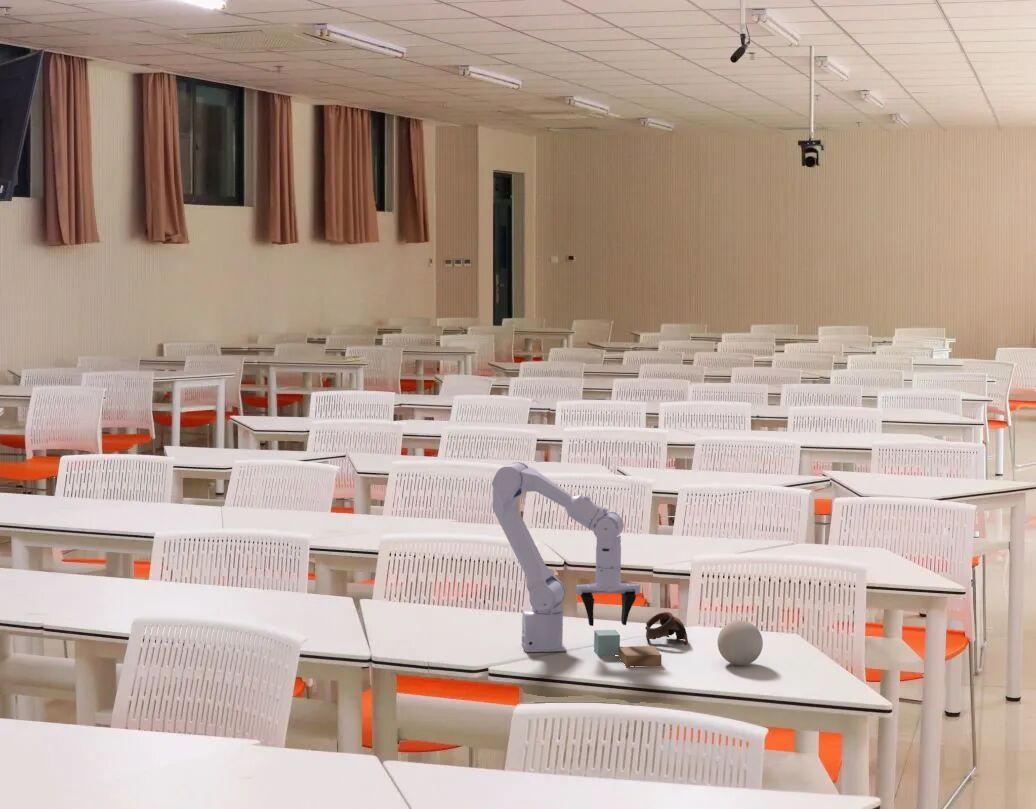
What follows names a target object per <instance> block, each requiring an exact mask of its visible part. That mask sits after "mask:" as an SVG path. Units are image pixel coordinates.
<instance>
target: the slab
mask: <svg viewBox="0 0 1036 809" xmlns="http://www.w3.org/2000/svg"><path fill="white" fill-rule="evenodd" d="M619 658H620V659H621V660H620V659H619ZM618 659H619V660H620V661H622V662H623V663H624V664H625V665H624V664H623V663H622V662H621V663H622V664H623V665H624V667H625V666H626V667H625V668H631V667H630V666H634V667H633V668H636V667H635V666H661V667H662V654H661V653H660V652H659V651H658V650H657V648H656V647H655V646H654V645H638V646H620V647H619V656H618Z"/></svg>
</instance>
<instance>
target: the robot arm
mask: <svg viewBox="0 0 1036 809" xmlns="http://www.w3.org/2000/svg"><path fill="white" fill-rule="evenodd" d="M491 486H492V510H493V512H494V515H495V516H496V519H497V520H498V522H499V525H500V527H501V529H502V531H503V533H504V535H505V537H506V539H507V540H508V543H509V545H510V547H511V548H512V551H513V552H514V556H515V557H516V559H517V561H518V563H519V565H520V567H521V569H522V570H523V573H524V574H525V577H526V579H525V580H526V582H525V583H526V588H527V592H528V595H529V602H530V606H531V609H530V610H524V611H523V612H522V617H521V618H522V619H521V621H522V623H521V646H522V648H523V649H524V651H525V652H526V653H545V652H547V653H549V652H550V653H551V652H566V651H567V648H566V646H565V645H564V643H563V635H564V634H563V632H564V630H563V628H564V627H563V626H564V612H563V611H564V607H563V606H562V602H563V601H564V600H565V597H566V594H567V592H566V588H565V585H564V584H563V582H562V581H560V579H559V578H557V577H556V576H555V573H554V572H553V570H551V569H550V568H549V567H548V566H547V565H546V563H545V561H544V559H543V557H542V556H541V553H540V551H539V548H538V547H537V545H536V543H535V540H534V539H533V538H532V535H531V533H530V531H529V529H528V526H527V525H526V523H525V521H524V519H523V517H522V515H521V513H520V511H519V509H518V506H517V505H518V502H519V500H520V497H521V495H522V493H524V492H525V493H527V492H528V493H529V492H531V493H532V492H536V493H538V494H540V495H541V496H543V497H546V498H547V499H549V500H551V501H553V502H554V503H556V504H558V505H560V506H561V507H563V508H565V510H566V514H567V516H568V517H569V518H571V519H572V520H574V521H575V522H577V523H579V524H580V525H581V526H583V527H585V528H587V529H588V530H590V531H592V532H593V534H594V536H595V538H596V546H595V583H586V584H576V586H575V588H576V589H575V594H576V595H577V596H578V595H579V596H580V598H581V600H582V602H583V606H584V607H585V608H584V609H585V611H586V615H587V620H588V625H589V626H590V627H593V626H594V605H595V598H594V594H595V595H598V594H599V595H600V594H606V595H608V594H621V616H620V617H621V624H622V625H623V626H627V622H628V618H629V615H630V611H631V609H632V606H633V605H634V603H635V601H636V599H637V595H638V594H640V593H641V592H640V590H641V589H640V588H641V585H640V584H639V583H628V582H627V583H626V582H624V583H623V582H621V581H622V580H621V576H622V574H621V573H622V572H621V571H622V570H621V569H622V567H621V566H622V564H621V563H622V544H621V542H622V540H621V539H622V538H621V534H622V532H623V530H624V521H623V519H622V517H621V516H620V515H619V514H618V513H617V512H615V511H609V509H608V508H606V507H604V508H603V507H601V506H600V505H598V504H597V503H594V502H593V501H592V500H591V499H592V497H590V496H589V495H585V496H583V495H582V494H579V495H572V494H570V493H569V492H568V491H567V490H566V489H564V488H563V487H561V486H560V485H558V484H557V483H555V482H553V481H552V480H550V478H548V477H546V475H543V474H542V473H541V472H539V471H538V470H537V469H535V468H534V467H529V466H528V464H525V463H524V462H521V461H516V462H512V463H511V464H510V465H506V466H502V467H500V468H499V469H498V470H497V471H496V473H495V475H494V478H493V479H492V481H491ZM636 594H637V595H636Z"/></svg>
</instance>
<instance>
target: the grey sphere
mask: <svg viewBox="0 0 1036 809" xmlns="http://www.w3.org/2000/svg"><path fill="white" fill-rule="evenodd" d="M763 645H764V642H763V637H762V634H761V632H760V630H759V629H758V628H757V627H756V625H754V624H753V623H751V622H749V621H746V620H742V619H740V620H739V619H737V620H733V621H732V620H731V621H730V622H728V623H727V624H725V625H724V626H723V627H722V628H721V630H720V631H719V633H718V636H717V649H718V651H719V654H720V655H721V657H722V658H723V659H724V660H725V661H727V662H728V663H730V664H732V665H733V666H746V665H750V664H752V663H753V662H754V661H756V660H757V659H759V656H760V655H761V653H762V651H763Z"/></svg>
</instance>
